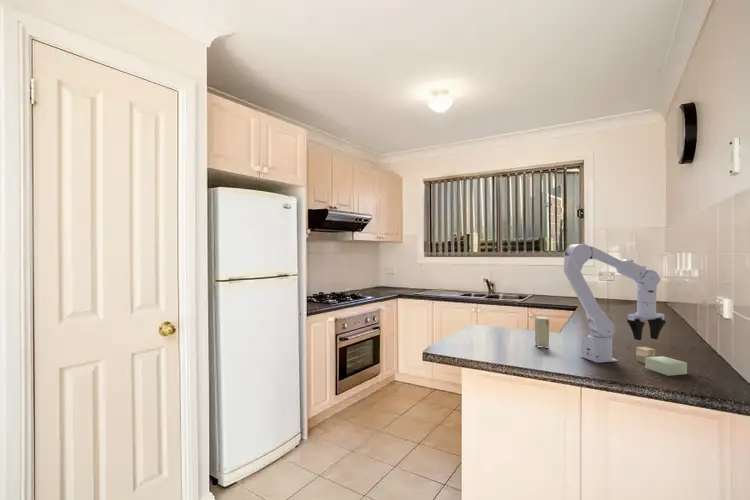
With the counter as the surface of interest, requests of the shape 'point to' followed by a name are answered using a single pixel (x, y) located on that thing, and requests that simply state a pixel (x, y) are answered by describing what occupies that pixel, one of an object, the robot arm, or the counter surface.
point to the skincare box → (542, 331)
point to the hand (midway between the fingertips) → (645, 339)
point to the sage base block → (666, 365)
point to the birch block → (644, 353)
